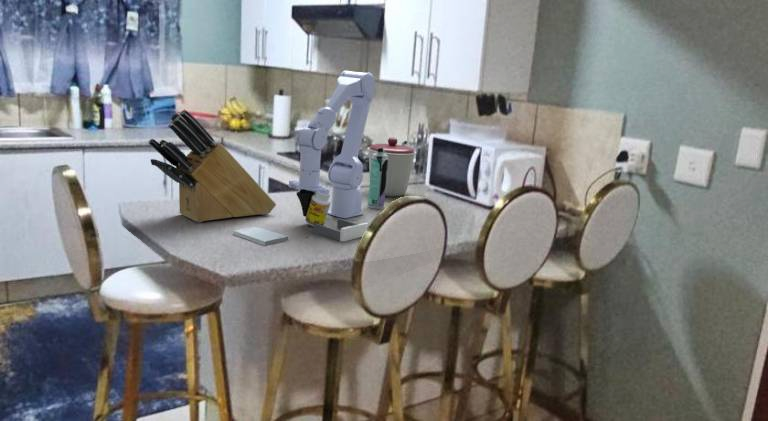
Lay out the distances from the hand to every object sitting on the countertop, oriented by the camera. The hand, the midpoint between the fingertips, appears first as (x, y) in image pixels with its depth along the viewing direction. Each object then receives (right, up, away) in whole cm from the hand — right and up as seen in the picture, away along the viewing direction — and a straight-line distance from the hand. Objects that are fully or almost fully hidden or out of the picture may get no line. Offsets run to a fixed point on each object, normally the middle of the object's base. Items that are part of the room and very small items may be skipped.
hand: (307, 216), depth 182 cm
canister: (+24, +8, +52) cm, 58 cm away
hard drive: (-10, -6, -17) cm, 20 cm away
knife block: (-27, 0, 0) cm, 27 cm away
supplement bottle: (+2, -2, -1) cm, 3 cm away
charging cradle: (+10, -5, -7) cm, 13 cm away
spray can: (+20, +3, +29) cm, 35 cm away
